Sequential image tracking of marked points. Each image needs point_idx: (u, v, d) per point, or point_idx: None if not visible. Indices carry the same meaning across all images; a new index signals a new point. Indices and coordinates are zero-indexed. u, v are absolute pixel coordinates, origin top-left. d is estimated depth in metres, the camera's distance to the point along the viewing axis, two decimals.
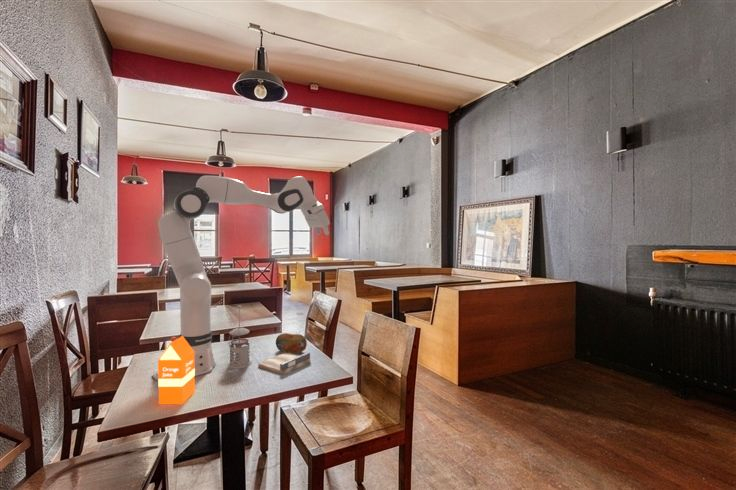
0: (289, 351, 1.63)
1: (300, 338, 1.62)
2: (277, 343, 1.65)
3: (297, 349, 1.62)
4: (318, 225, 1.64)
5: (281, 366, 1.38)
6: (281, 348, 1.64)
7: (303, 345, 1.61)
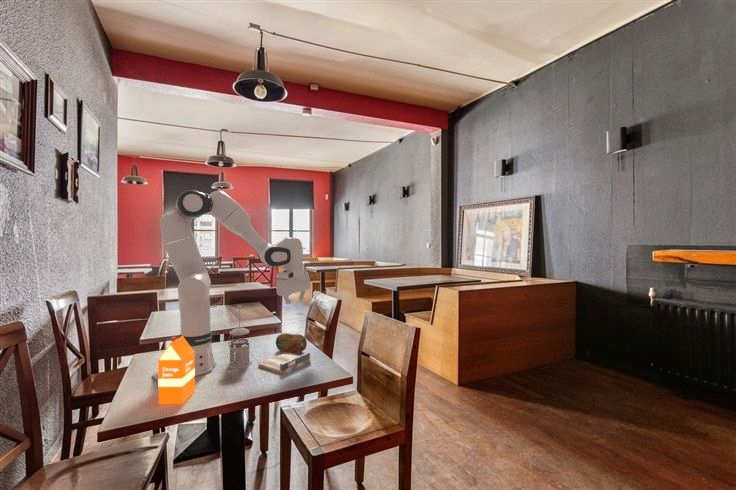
0: (289, 351, 1.63)
1: (300, 338, 1.62)
2: (277, 343, 1.65)
3: (297, 349, 1.62)
4: None
5: (281, 366, 1.38)
6: (281, 348, 1.64)
7: (303, 345, 1.61)
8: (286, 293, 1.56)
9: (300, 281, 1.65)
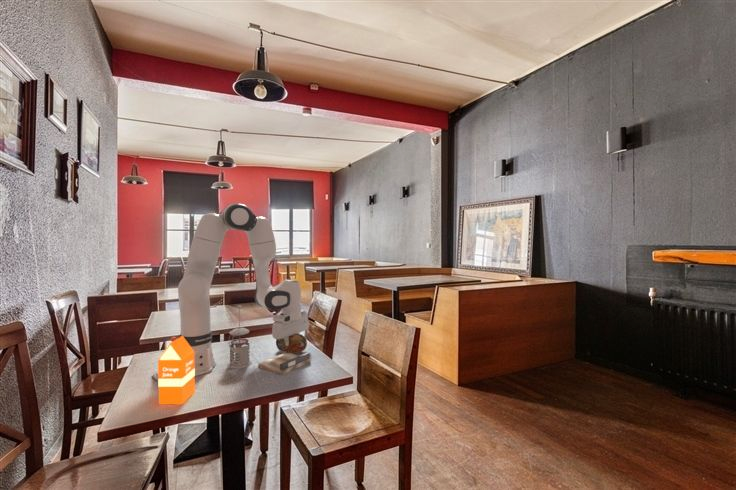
0: (289, 351, 1.63)
1: (300, 338, 1.62)
2: (277, 343, 1.65)
3: (297, 349, 1.62)
4: None
5: (281, 366, 1.38)
6: (281, 348, 1.64)
7: (303, 345, 1.61)
8: (282, 336, 1.56)
9: (297, 323, 1.65)
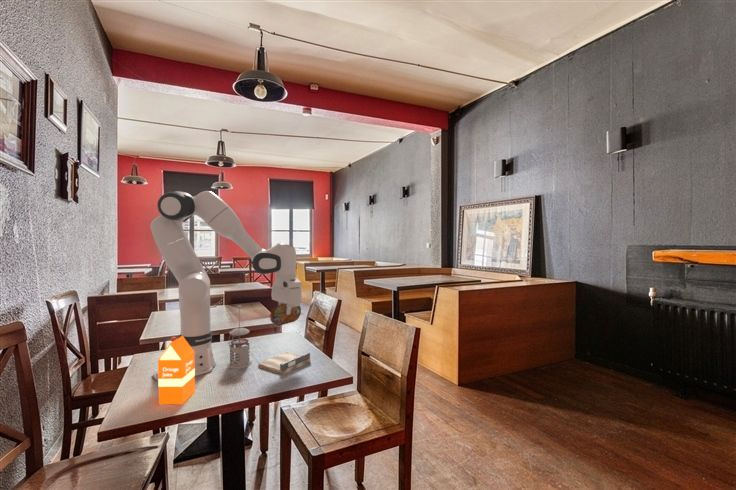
0: (286, 322, 1.51)
1: None
2: (274, 318, 1.46)
3: (293, 317, 1.54)
4: (286, 301, 1.47)
5: (281, 366, 1.38)
6: (278, 322, 1.48)
7: (299, 311, 1.56)
8: None
9: None
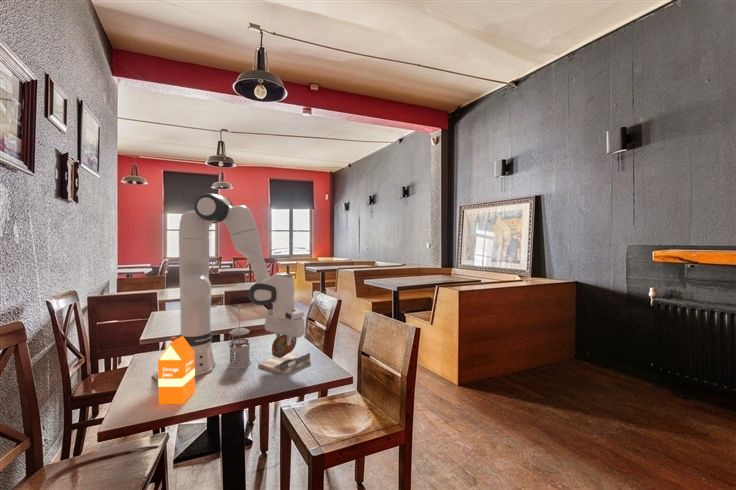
0: (285, 353, 1.48)
1: None
2: (276, 351, 1.42)
3: (290, 347, 1.52)
4: (287, 333, 1.44)
5: (281, 366, 1.38)
6: (279, 354, 1.44)
7: (295, 340, 1.54)
8: None
9: None
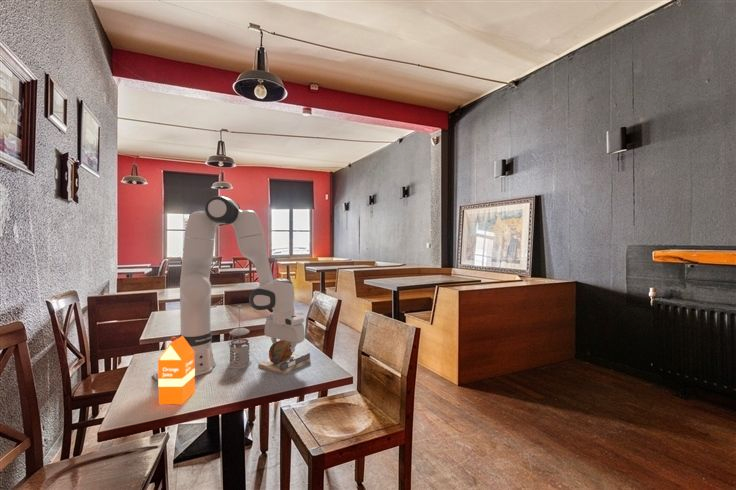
0: (283, 359, 1.49)
1: None
2: (273, 357, 1.43)
3: (288, 353, 1.52)
4: (287, 338, 1.44)
5: (281, 366, 1.38)
6: (277, 360, 1.45)
7: None
8: None
9: None
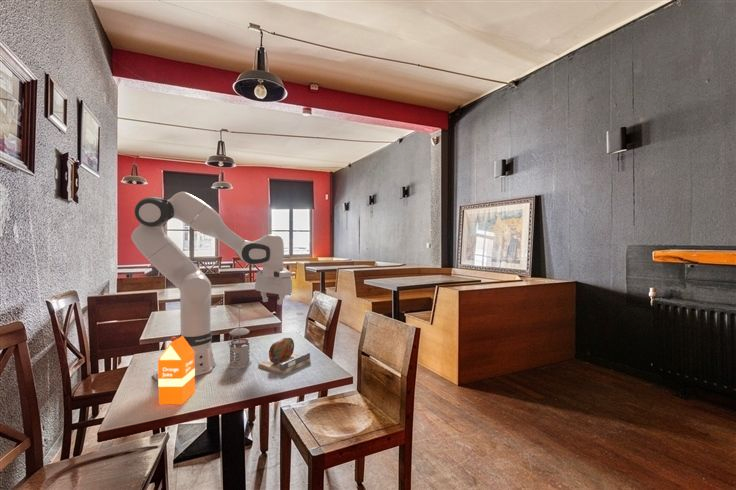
0: (283, 359, 1.49)
1: (289, 340, 1.53)
2: (273, 357, 1.43)
3: (288, 353, 1.52)
4: (275, 291, 1.51)
5: (281, 366, 1.38)
6: (277, 360, 1.45)
7: (292, 346, 1.55)
8: None
9: None
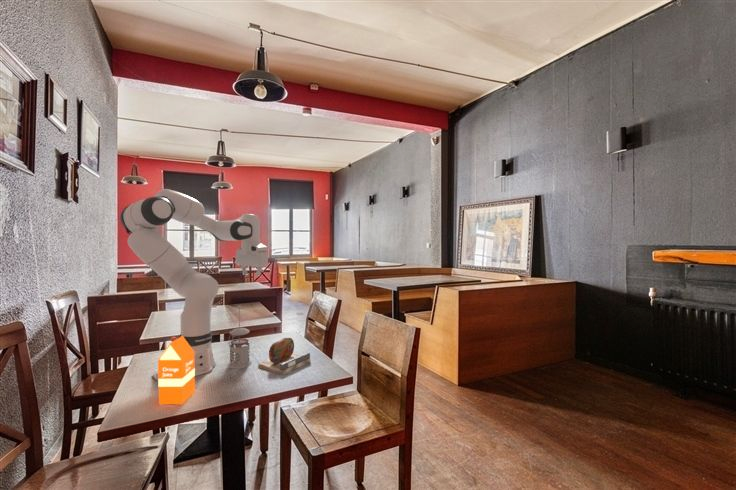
0: (283, 359, 1.49)
1: (289, 340, 1.53)
2: (273, 357, 1.43)
3: (288, 353, 1.52)
4: (253, 264, 1.69)
5: (281, 366, 1.38)
6: (277, 360, 1.45)
7: (292, 346, 1.55)
8: None
9: None
